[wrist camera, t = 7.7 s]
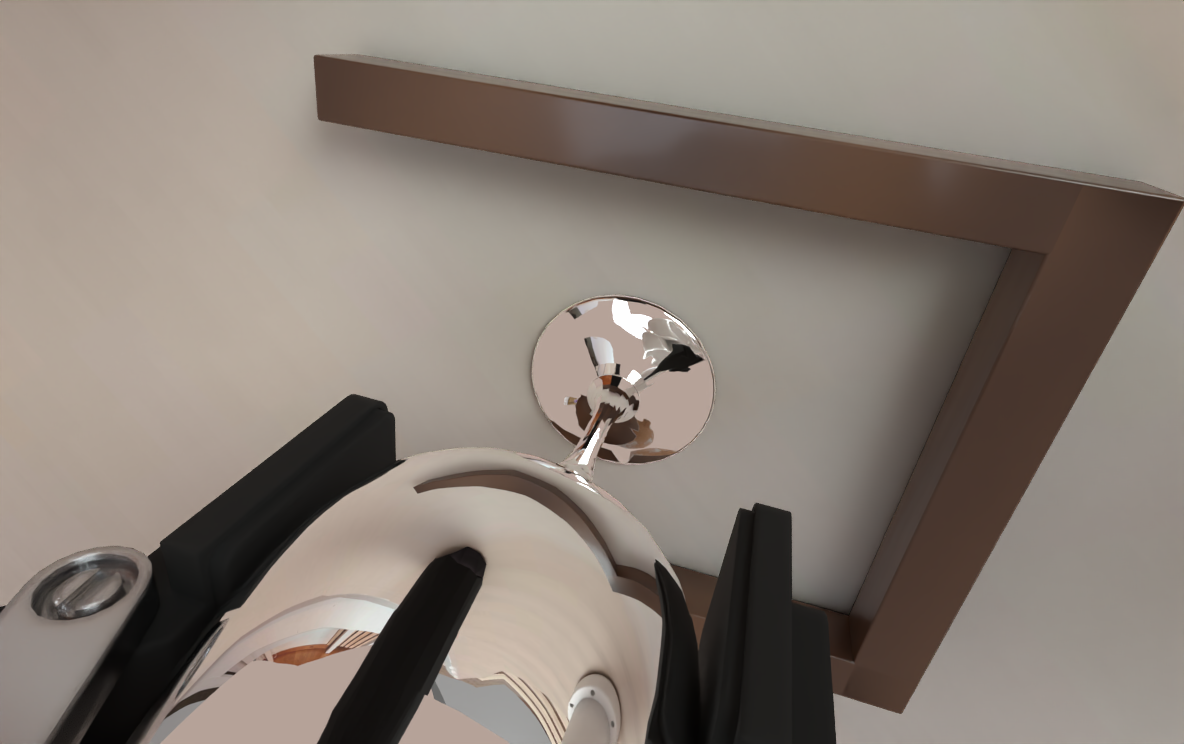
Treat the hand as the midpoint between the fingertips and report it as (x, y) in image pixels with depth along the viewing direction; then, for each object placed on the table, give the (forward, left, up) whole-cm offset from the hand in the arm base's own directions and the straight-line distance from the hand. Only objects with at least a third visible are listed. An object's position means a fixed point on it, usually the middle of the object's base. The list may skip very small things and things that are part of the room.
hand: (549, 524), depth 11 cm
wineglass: (0, 0, -6) cm, 6 cm away
